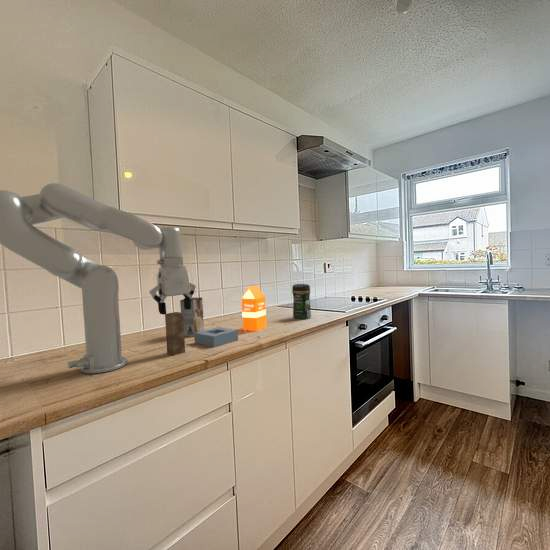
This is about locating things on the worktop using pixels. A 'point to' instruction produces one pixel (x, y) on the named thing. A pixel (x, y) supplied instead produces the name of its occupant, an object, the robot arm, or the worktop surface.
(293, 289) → the coffee jar
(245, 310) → the orange juice
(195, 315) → the coffee box
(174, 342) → the peg
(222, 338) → the socket block
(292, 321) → the worktop surface
